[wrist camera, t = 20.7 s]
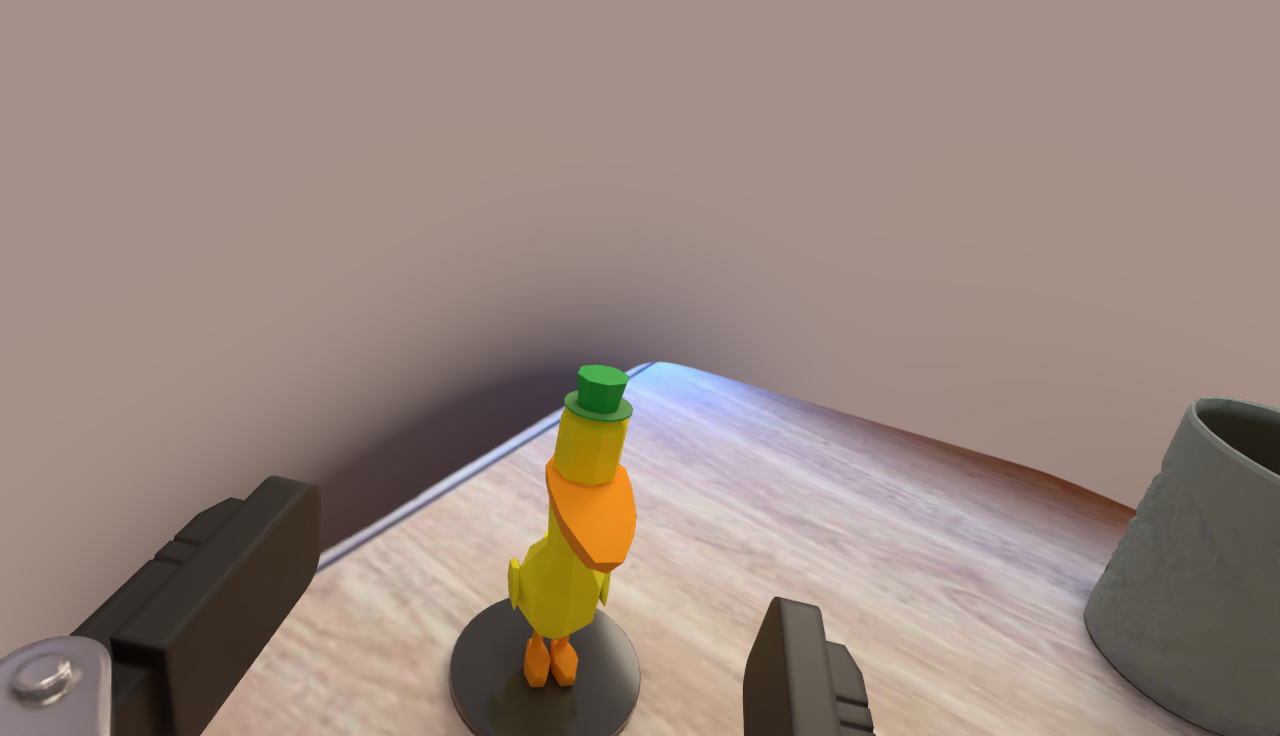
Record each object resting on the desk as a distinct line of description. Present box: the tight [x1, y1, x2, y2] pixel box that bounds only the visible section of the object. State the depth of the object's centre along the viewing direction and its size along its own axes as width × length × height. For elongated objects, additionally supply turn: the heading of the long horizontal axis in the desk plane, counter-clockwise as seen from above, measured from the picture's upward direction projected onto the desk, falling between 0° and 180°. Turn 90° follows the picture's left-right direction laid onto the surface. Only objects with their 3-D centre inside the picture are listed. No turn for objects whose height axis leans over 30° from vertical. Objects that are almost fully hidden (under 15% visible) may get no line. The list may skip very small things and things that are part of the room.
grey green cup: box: [1085, 397, 1280, 736], centre depth 31 cm, size 10×10×12 cm
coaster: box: [449, 598, 640, 736], centre depth 26 cm, size 7×7×1 cm
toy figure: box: [508, 365, 637, 687], centre depth 23 cm, size 7×4×12 cm, turn 14°
